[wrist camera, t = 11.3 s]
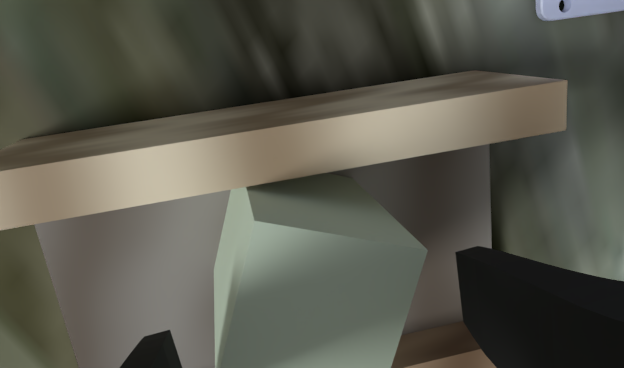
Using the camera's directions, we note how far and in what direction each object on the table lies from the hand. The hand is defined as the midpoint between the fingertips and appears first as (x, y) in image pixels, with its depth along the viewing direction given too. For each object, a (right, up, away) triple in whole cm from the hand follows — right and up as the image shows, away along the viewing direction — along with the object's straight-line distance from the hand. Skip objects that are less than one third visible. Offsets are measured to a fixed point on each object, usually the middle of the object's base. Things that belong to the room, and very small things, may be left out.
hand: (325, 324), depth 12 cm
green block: (-1, +2, +7) cm, 7 cm away
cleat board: (-1, +1, +8) cm, 8 cm away
